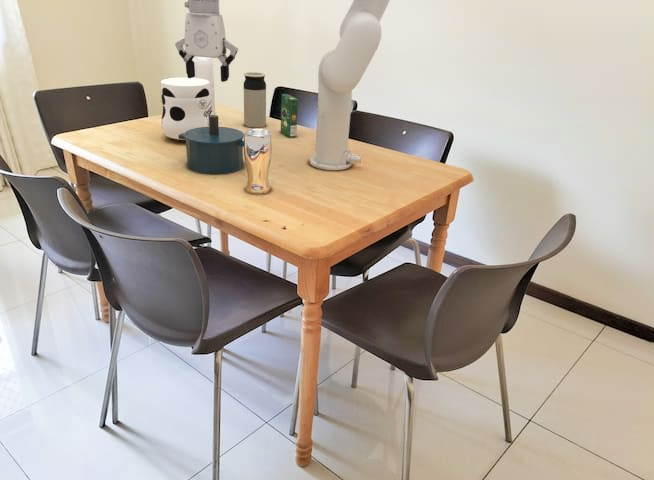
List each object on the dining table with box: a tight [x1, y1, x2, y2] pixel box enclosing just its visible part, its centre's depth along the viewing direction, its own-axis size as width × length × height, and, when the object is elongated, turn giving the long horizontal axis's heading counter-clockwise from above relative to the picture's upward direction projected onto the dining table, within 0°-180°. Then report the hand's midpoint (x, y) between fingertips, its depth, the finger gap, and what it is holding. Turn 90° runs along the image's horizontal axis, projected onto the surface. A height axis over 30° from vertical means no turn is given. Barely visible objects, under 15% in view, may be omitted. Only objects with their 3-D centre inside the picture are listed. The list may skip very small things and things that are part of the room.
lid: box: [184, 114, 244, 144], centre depth 141 cm, size 17×17×6 cm
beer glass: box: [243, 128, 273, 195], centre depth 128 cm, size 7×7×15 cm
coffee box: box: [280, 93, 299, 138], centre depth 175 cm, size 8×3×13 cm, turn 27°
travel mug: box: [243, 71, 267, 129], centre depth 183 cm, size 8×8×18 cm
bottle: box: [192, 56, 217, 115], centre depth 184 cm, size 8×8×30 cm
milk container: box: [160, 76, 213, 143], centre depth 165 cm, size 17×17×18 cm
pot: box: [178, 133, 244, 175], centre depth 145 cm, size 16×21×8 cm
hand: (207, 79), depth 137 cm, fingers open, 9 cm apart
